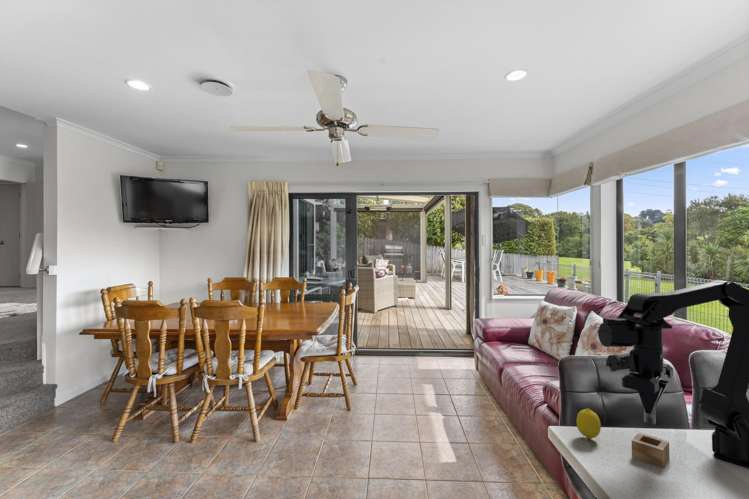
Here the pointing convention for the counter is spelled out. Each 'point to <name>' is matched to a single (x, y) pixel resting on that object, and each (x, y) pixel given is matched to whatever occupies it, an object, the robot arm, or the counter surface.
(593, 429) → the lemon
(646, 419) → the peg
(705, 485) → the counter surface
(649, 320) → the robot arm
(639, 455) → the block with square hole
